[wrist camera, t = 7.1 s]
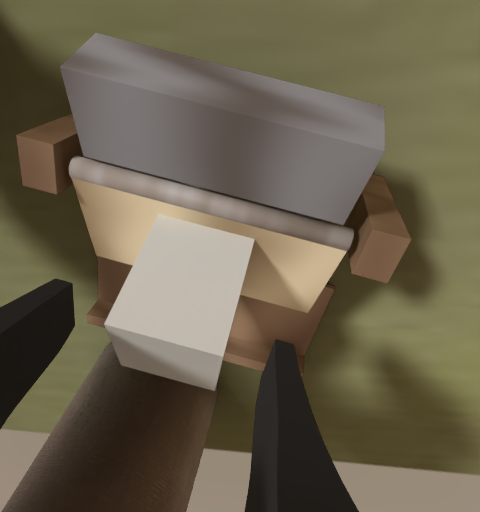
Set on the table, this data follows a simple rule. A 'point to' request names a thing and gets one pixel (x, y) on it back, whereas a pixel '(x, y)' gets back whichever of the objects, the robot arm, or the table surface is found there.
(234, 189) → the trapdoor
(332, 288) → the frame
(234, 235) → the stone block
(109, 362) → the pillar candle
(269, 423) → the robot arm
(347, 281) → the table surface
